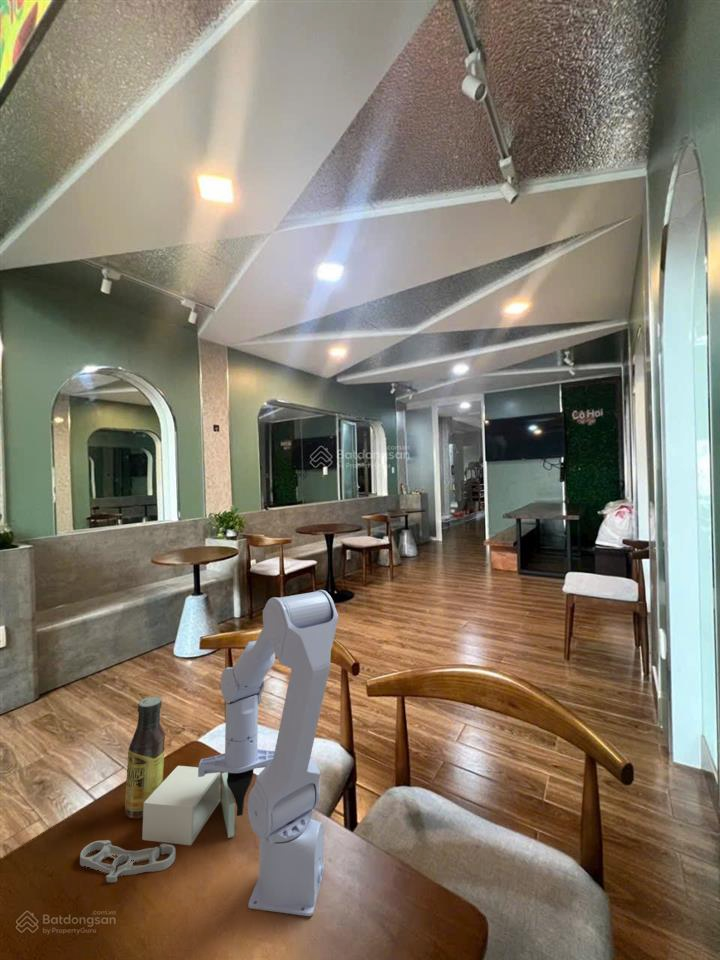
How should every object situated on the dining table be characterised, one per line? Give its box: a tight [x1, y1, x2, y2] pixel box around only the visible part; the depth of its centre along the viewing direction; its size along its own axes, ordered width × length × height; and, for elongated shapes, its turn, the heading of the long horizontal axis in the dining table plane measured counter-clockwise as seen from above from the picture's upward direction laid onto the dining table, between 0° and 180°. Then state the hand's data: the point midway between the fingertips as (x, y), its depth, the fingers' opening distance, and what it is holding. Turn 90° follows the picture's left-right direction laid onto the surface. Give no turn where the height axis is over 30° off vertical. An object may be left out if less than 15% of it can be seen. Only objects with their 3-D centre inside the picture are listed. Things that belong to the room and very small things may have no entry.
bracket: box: [79, 839, 176, 883], centre depth 63 cm, size 8×2×15 cm
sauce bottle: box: [124, 696, 166, 820], centre depth 75 cm, size 7×6×20 cm
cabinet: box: [141, 765, 221, 846], centre depth 71 cm, size 9×10×6 cm
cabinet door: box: [220, 772, 236, 839], centre depth 72 cm, size 1×10×5 cm, turn 27°
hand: (240, 811), depth 70 cm, fingers closed
